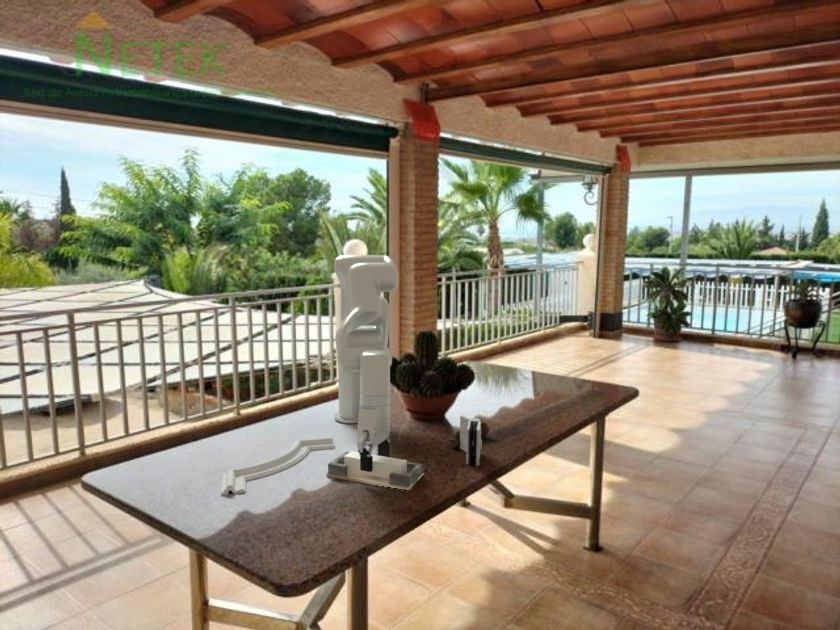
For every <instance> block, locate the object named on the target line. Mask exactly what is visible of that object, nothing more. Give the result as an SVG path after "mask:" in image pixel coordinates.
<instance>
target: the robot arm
mask: <svg viewBox="0 0 840 630" xmlns="http://www.w3.org/2000/svg"><path fill="white" fill-rule="evenodd" d="M333 266H334V267H333V268H334V272H335V275H336V277H337V279H338V281H339V283H340V319H341V321H342V322H341V324H340V326H339V329H337V330H336V333H335V340H334V341H335V346H336V347H335V348H336V356H337V357H336V358H337V364H338V365H337V367H338V371H337V372H338V412H336V413H335V414H334V416H333V417H334V420H335V421H337V422H338V421H339V423H343V424H357V441H356V445H357V452H359V455H360V469H361V470H362V471H367V472H372V471H373V456H371V454H372V455H373V450H374V448H375V447H377V455H378V456H384V457H390V443H391V438H390V437H391V434H392V432H391V430H392V425H393V424H392V422H391V417H390V415H391V412H390V406H391V367H392V364H393V353H392V351H391V350H390V348H389V347H388V343H389V331H390V330H389V329H390V316H391V315H390V314H391V312H390V304H389V302H388V300H387V299H386V298H385V297H384V296H380V293H386V292H388V293H390V292H395V291H396V290H397V289H398V286H399V281H400V279H399V272H398V268H397V265H396V264H395V262H394V260H393V259H392V258H391V257H390V256H388V255H384V254H342V255H338V256H337V257H336V258H335V259H334V262H333ZM367 448H368V449H367ZM390 458H391V457H390Z"/></svg>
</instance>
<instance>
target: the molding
mask: <svg viewBox="0 0 840 630" xmlns="http://www.w3.org/2000/svg"><path fill="white" fill-rule="evenodd" d="M334 448H335V446H334V438H333V437H332V436H331V437H330V436H329V437H318V438H308V439H307V438H306V439H296V440H295V441H294V443H291V448H290V449H289V450H288V451H286V452H285V453H282V454H281V455H279V456H276V457H275V458H272V459H269V460H266V461H263V462H260V463H256V464H252V465H249V466H243V467H237V468H232V469H229V470H228V471H226V472H225V473H223V474H222V483H221V491H220V493H221V494H220V495H221V496H228V495H229V491H231V492H232V493H233V494H234V495H236V494H244V493H246V488H247V487H246V485H247V483H246V482H249V481H252V480H253V481H254V480H257V479H261V478H262V479H263V478H265V477H268V476H271V475H274V474H277V473H280V472H282V471H284V470H287V469H289V468H291V467H294V466H295V465H296V464H299V463H300V462H301V461H302V460H303V459H304V458H306V457H307V456H308V454H309V453H310V451H311V452H312V451H323V450H335V449H334Z"/></svg>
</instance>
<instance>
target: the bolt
mask: <svg viewBox="0 0 840 630" xmlns="http://www.w3.org/2000/svg"><path fill="white" fill-rule="evenodd" d="M480 421H481V437H482V438H481V439H485V438H486V437H487V436H488V434H489V433H490V427H489V425H488V424H487V422H486V421H484V420H481V419H480ZM484 437H485V438H484ZM449 445H450V446H451V447H452V448H458V447H460V429H459V430H457V431H456V432H455V435H454V436H452V437H451V438H449Z"/></svg>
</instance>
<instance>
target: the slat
mask: <svg viewBox="0 0 840 630" xmlns="http://www.w3.org/2000/svg"><path fill="white" fill-rule="evenodd" d="M349 452H350V453H348V454H347V455H345V456H344V465H347V472H352V473H358V474H363V475H369V476H375V477H380V478H386V479H389V474H390V473H396V474H402V475H406V474H407V462H408V460H407V459H401V458H396V457H384V456H378V454H377V455H376V454H373V453H372V454H371V456H373V471H372V472H367V471H362V470H361V469H360V455H359V452H358V451H353V450H352V451H349Z"/></svg>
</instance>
